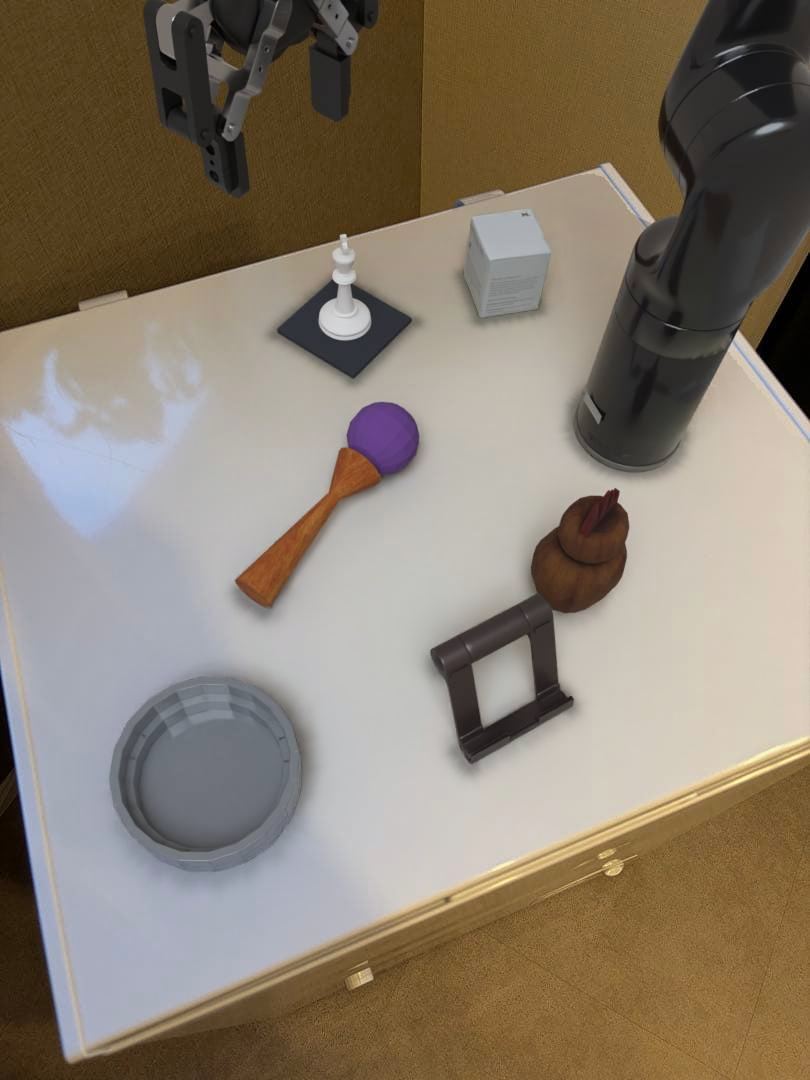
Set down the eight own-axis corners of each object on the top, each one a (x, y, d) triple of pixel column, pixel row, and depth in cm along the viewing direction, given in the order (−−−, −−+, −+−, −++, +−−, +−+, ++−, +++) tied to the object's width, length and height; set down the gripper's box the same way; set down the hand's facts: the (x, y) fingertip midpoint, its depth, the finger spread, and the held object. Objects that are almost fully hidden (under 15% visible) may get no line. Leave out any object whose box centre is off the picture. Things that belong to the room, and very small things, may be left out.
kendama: (210, 556, 66) (369, 377, 73) (235, 594, 71) (381, 423, 78) (270, 592, 64) (428, 403, 71) (291, 629, 69) (437, 449, 76)
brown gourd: (550, 636, 69) (595, 538, 56) (511, 577, 71) (546, 470, 58) (622, 601, 70) (682, 499, 57) (582, 544, 73) (631, 434, 60)
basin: (208, 665, 66) (199, 644, 63) (337, 763, 63) (335, 746, 59) (86, 798, 61) (69, 782, 57) (219, 912, 58) (211, 903, 54)
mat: (337, 278, 87) (337, 274, 86) (411, 321, 84) (412, 317, 84) (277, 332, 83) (276, 328, 82) (353, 379, 80) (353, 375, 80)
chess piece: (323, 343, 82) (319, 259, 73) (314, 304, 84) (310, 219, 75) (375, 337, 82) (378, 253, 74) (366, 299, 85) (367, 213, 76)
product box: (461, 274, 88) (469, 214, 81) (520, 266, 89) (532, 205, 82) (478, 320, 85) (488, 260, 78) (539, 310, 86) (554, 251, 79)
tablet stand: (468, 769, 63) (483, 732, 56) (412, 677, 66) (419, 631, 59) (569, 710, 66) (596, 668, 58) (511, 625, 69) (529, 575, 62)
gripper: (201, -107, 32) (249, 249, 46) (432, -232, 38) (411, 116, 52) (53, -175, 34) (142, 187, 48) (295, -283, 40) (311, 66, 54)
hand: (282, 150), depth 50 cm, fingers open, 8 cm apart
